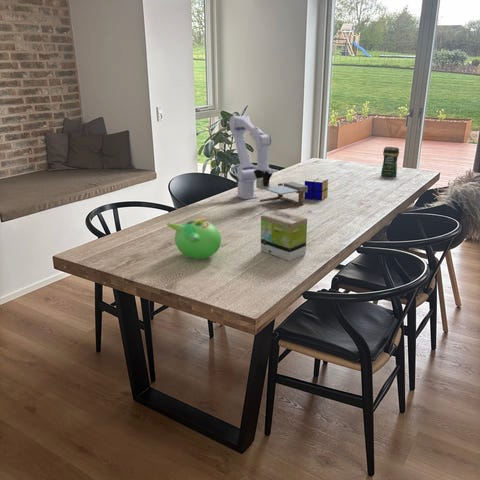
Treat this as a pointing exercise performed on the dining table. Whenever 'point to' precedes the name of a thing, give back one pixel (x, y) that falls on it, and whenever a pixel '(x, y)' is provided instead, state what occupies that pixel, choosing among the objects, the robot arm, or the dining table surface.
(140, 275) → the dining table surface
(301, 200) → the frame
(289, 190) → the trapdoor
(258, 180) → the grey cube
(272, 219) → the tea box
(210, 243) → the toy bird
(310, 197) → the puzzle cube
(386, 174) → the coffee jar
